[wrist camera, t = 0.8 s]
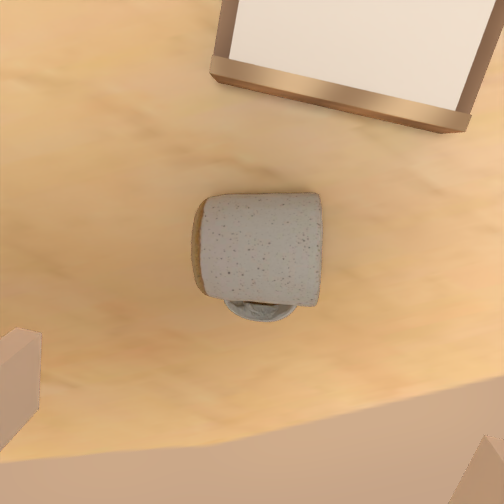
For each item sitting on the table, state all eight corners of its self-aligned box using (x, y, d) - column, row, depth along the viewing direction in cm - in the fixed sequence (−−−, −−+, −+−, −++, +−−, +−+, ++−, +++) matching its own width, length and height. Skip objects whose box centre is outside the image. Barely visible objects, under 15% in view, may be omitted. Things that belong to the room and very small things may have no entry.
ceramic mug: (206, 187, 27) (180, 206, 19) (315, 185, 26) (330, 203, 19) (215, 312, 30) (195, 368, 23) (312, 313, 29) (324, 370, 22)
